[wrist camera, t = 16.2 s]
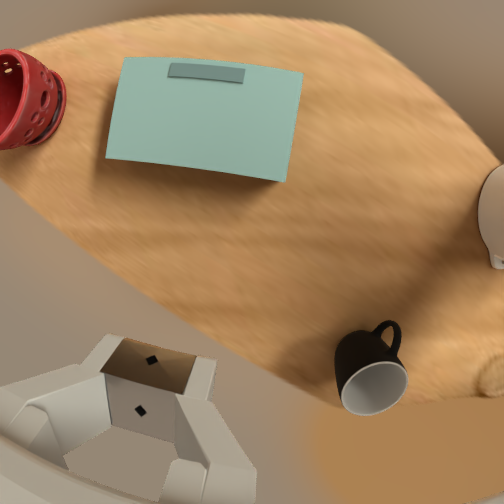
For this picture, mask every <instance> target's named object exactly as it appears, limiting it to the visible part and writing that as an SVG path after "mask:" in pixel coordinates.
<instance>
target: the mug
mask: <svg viewBox="0 0 504 504" xmlns="http://www.w3.org/2000/svg"><path fill="white" fill-rule="evenodd" d="M389 326H392V327H393V331H394V337H393V342H392V345H391V347H389V346H388V345H387V344H386V343H385V342H384V341H383V340H382V339H381V334H382V332H383V331H384V330H385V329H386V328H387V327H389ZM401 337H402V336H401V329H400V326H399V325H398V324H397V323H396V322H394V321H391V320H387V321H384V322H382V323H381V324H380V325H378V326H377V327H376V328H375V329H374V330H373V331H372V332H368V331H356V332H352V333H350V334H348V335H347V336H345V337H344V338H343V339H342V340H341V341H340V343H339V345H338V347H337V349H336V352H335V374H336V382H337V387H338V392H339V396H340V399H341V402H342V404H343V406H344V408H345V409H346V410H347V411H349V412H351V413H353V414H355V415H362V416H368V415H374V414H378V413H381V412H383V411H385V410H387V409H389V408H390V407H392V406H393V405H394V404H396V403H397V402H398V401H399V400H400V398H401V397H402V396H403V394H404V393H405V391H406V388H407V385H408V374H407V371H406V370H405V368H404V366H403V364H402V363H401V361H400V360H399V358H398V357H397V353H398V350H399V347H400V343H401Z"/></svg>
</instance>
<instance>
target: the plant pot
mask: <svg viewBox="0 0 504 504" xmlns="http://www.w3.org/2000/svg"><path fill="white" fill-rule="evenodd" d="M6 62H7V64H4V63H6ZM17 64H21V65H17ZM9 68H11V69H12V71H10V72H8V73H5V72H4V71H5V70H7V69H9ZM65 106H66V88H65V85H64V82H63V80H62V78H61V77H60V76H59V75H58V74H57V73H56V72H54V71H52V70H48V68H47V67H46V66H45V65H43V64H42V63H41V62H40V61H38V60H37V59H35V58H34V57H32V56H30V55H28V54H26V53H24V52H21V51H18V50H15V49H4V50H1V51H0V150H5V149H12V148H16V147H19V146H22V145H24V146H33V145H37V144H39V143H41V142H43V141H45V140H46V139H47V138H48V137H50V136H51V135H52V133H53V132H54V131H55V130H56V128H57V127H58V125H59V123H60V121H61V119H62V117H63V114H64V111H65Z"/></svg>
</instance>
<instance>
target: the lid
mask: <svg viewBox="0 0 504 504" xmlns="http://www.w3.org/2000/svg"><path fill="white" fill-rule="evenodd" d="M303 75H304V73H300V72H295V71H289V70H284V69H278V68H272V67H266V66H259V65H252V64H244V63H236V62H227V61H216V60H205V59H190V58H167V57H125V58H124V62H123V66H122V70H121V74H120V79H119V83H118V88H117V92H116V97H115V102H114V108H113V113H112V118H111V124H110V130H109V136H108V143H107V150H106V157H105V158H109V159H120V160H130V161H140V162H149V163H158V164H167V165H175V166H183V167H190V168H198V169H205V170H212V171H219V172H225V173H232V174H238V175H244V176H251V177H257V178H262V179H268V180H274V181H279V182H285V181H286V175H287V170H288V164H289V158H290V152H291V147H292V141H293V135H294V129H295V123H296V117H297V111H298V105H299V99H300V93H301V87H302V81H303Z"/></svg>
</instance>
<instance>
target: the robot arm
mask: <svg viewBox="0 0 504 504" xmlns="http://www.w3.org/2000/svg"><path fill="white" fill-rule="evenodd" d="M478 222H479V229H480V233H481V236H482V238H483V241H484V242H485V244H486V246H487V248H488V250H489V253H490V261H491V265H492V267H493V268H496V269H504V164H503V165H501V166H499V167H497V168H496V169H495V170H494V171H493V172H492V173H491V174H490V175H489V177H488V178H487V180H486V182H485V184H484V186H483V189H482V191H481V195H480V199H479V206H478ZM502 261H503V262H502ZM216 368H217V359H216V358H211V357H205V356H199V355H198V356H196V355H191V354H186V353H182V352H177V351H173V350H169V349H164V348H161V347H158V346H153V345H150V344H147V343H143V342H139V341H136V340H133V339H129V338H125V337H122V336H118V335H115V334H112V333H108V334H106V335H105V336H104V337H103V338H102V339H101V340H100V342H99V343H98V344H97V345H96V346H95V347H94V349H93V350H92V351H91V352H90V353H89V355H88V356H87V357H86V358H85V360H84V361H83V362H82V363H81V365H78V364H72V365H69V366H66V367H63V368H60V369H57V370H54V371H51V372H48V373H44V374H41V375H38V376H35V377H32V378H28V379H25V380H22V381H18V382H15V383H11V384H8V385H5V386H1V387H0V504H255V492H256V479H257V478H256V477H257V470H256V469H255V468H254V466H253V465H252V463H251V462H250V460H249V459H248V457H247V456H246V454H245V453H244V451H243V450H242V448H241V447H240V445H239V444H238V442H237V440H236V439H235V437H234V436H233V434H232V433H231V431H230V429H229V428H228V426H227V425H226V423H225V421H224V420H223V418H222V417H221V415H220V413H219V412H218V410H217V408H216V407H215V405H214V403H213V402H211V400H212V395H213V388H214V381H215V375H216ZM111 425H114V426H117V427H120V428H123V429H127V430H130V431H134V432H137V433H141V434H144V435H148V436H151V437H154V438H158V439H161V440H164V441H169V442H172V443H174V446H175V448H176V451H177V454H178V456H179V459H177V460H175V461H172V462H171V465H170V468H169V471H168V474H167V477H166V480H165V483H164V486H163V489H162V492H161V495H160V498H159V502H155V501H151V500H148V499H144V498H141V497H138V496H134V495H131V494H128V493H125V492H122V491H119V490H116V489H113V488H110V487H108V486H105V485H102V484H100V483H97V482H95V481H92V480H89V479H87V478H84V477H82V476H80V475H77V474H75V473H73V472H70V471H69V469H68V467H67V465H66V463H65V460H64V458H63V455H65V454H67V453H68V452H70V451H71V450H73V449H75V448H77V447H79V446H80V445H82V444H84V443H85V442H87V441H89V440H91V439H92V438H94V437H96V436H97V435H99V434H100V433H102V432H104V431H105V430H107V429H109V428H110V427H112V426H111ZM464 504H504V491H502V492H499V493H497V494H494V495H491V496H488V497H484V498H482V499H478V500H475V501H471V502H468V503H464Z"/></svg>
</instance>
